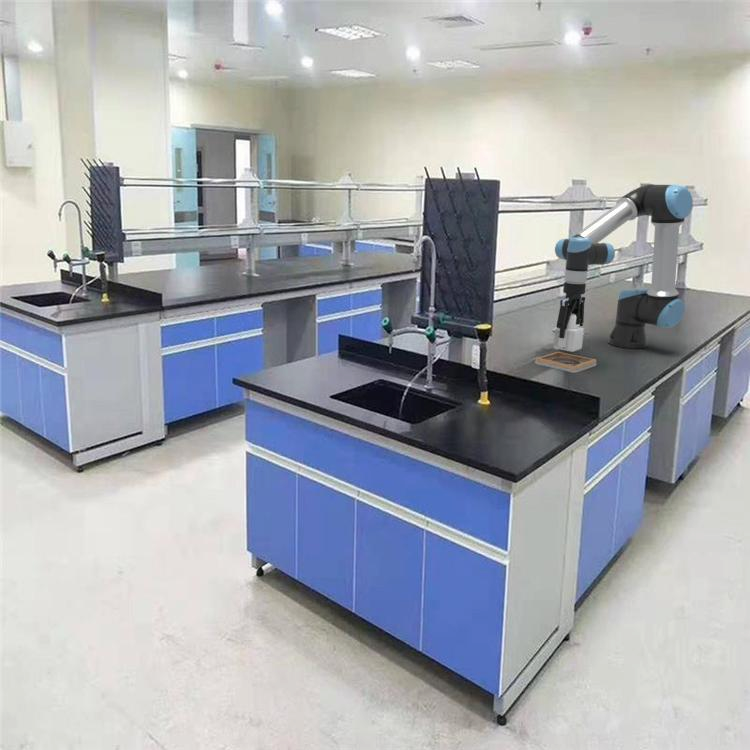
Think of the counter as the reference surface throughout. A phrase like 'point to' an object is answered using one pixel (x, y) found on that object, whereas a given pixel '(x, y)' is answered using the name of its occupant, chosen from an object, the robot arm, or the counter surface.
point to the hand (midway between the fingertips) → (567, 345)
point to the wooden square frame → (566, 362)
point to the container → (571, 334)
